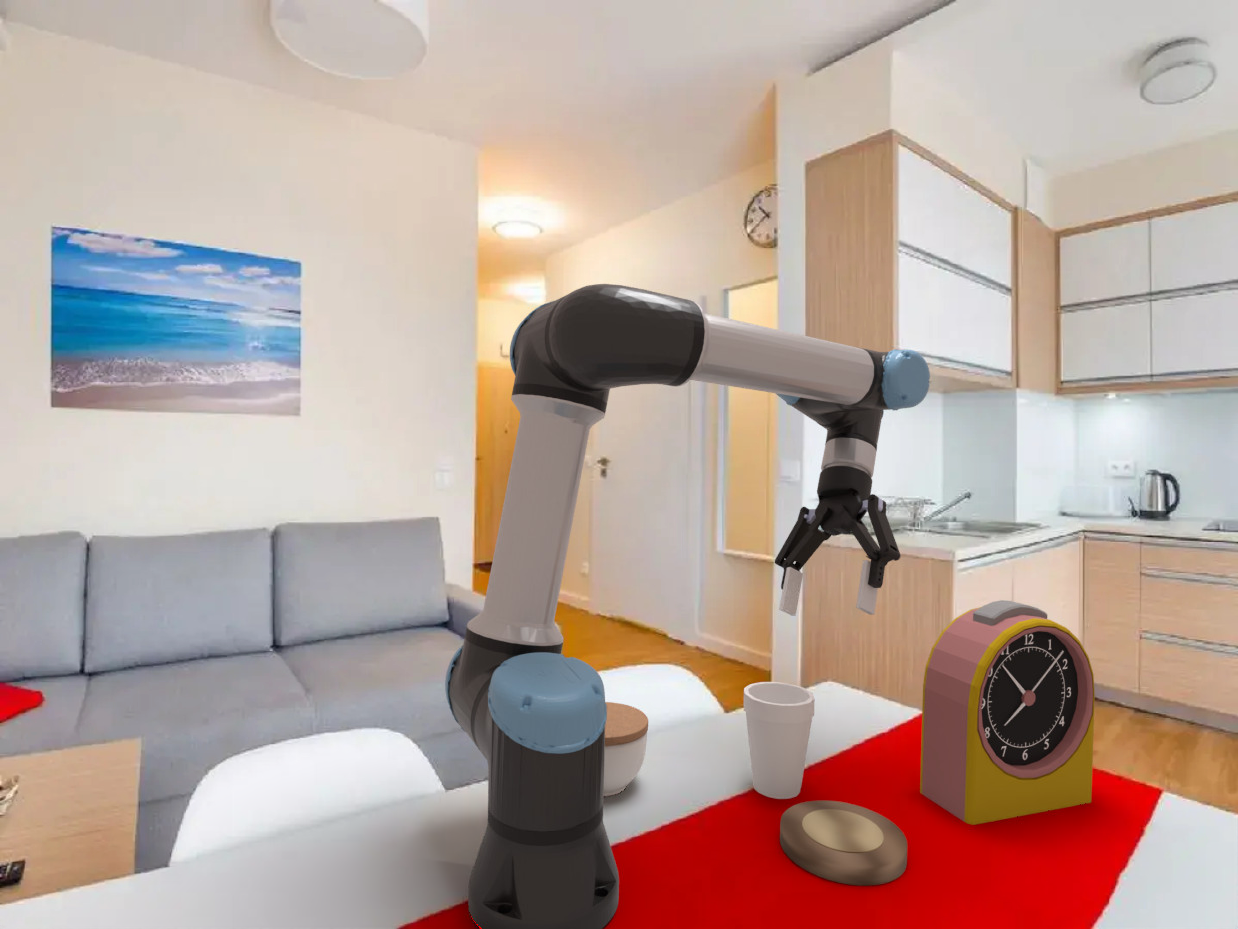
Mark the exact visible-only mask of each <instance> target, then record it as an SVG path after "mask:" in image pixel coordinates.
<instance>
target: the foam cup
mask: <svg viewBox="0 0 1238 929" xmlns="http://www.w3.org/2000/svg"><path fill="white" fill-rule="evenodd" d="M815 701H816V700H815V696H814V693H813V692H812V691H810V690H808V689H807V688H805V687H803V686H800V685H799V686H798V685H796V684H792V683H787V682H779V681H760V682H755V683H751V684H748V685H747V686H745V687H744V688H743V711H744V712H745V717H746V727H747V729H746V730H747V736H748V737H747V738H748V748H749V757H750V764H751V766H750V767H751V776H752V783H753V790H755V791H756V792H757V793H759V794H761V795H763V796H765V797H766V798H772V799H777V800H787V799H792V798H795V797H798V795H799V794H800V793H801V788H802V785H803V784H802V783H803V778H804V771H805V764H806V759H807V752H808V746H809V739H810V734H811V728H812V722H813V717H815Z"/></svg>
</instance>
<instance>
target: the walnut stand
mask: <svg viewBox="0 0 1238 929" xmlns="http://www.w3.org/2000/svg"><path fill="white" fill-rule="evenodd" d="M779 823H780V824H779V826H780V827H779V842H780V843H779V844H780V846H781V848H782V851H783V852H784V853H785V854H786V856H787V857H788V858H789V859H790V860H791V862H793V863H795V864H796V865H797V866H799V868H802V869H803V870H805V871H807V872H809V873H811V874H812V875H815V876H817V877H820V878H822V879H825V880H829V881H830V882H831V881H832V882H835V883H840V884H845V885H852V886H878V885H882V884H887V883H889V882H890V883H891V882H892V881H895V880H896V879H898V878H900V877H901V876H902V875H903V874H904V872H905V871H906V868H907V863H908V840H907V837H906V836H905V834H904V832H903V831H902V830H901V828H899V826H897V825H896V824H895V823H894V822H893V821H891V820H890V819H889V818H887V817H885V816H883V815H882V814H880V813H878V812H875V811H873V810H870V809H869V808H867V807H864V806H860V805H857V804H851V803H848V802H843V801H837V800H811V801H805V802H804V801H803V802H800V803H797V804H794V805H791V807H788V808H787V809H786V810H785V811H783V813H782V815H781V818H780V822H779Z"/></svg>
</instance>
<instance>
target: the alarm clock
mask: <svg viewBox="0 0 1238 929" xmlns="http://www.w3.org/2000/svg"><path fill="white" fill-rule="evenodd" d="M1094 675H1095V674H1094V672H1093V668H1092V664H1091V661H1090V658H1089V655H1088V653H1087V651H1086V649H1085V648H1084V646H1083V644H1082V643H1081V641H1080V639H1079V638H1078V637H1077V636H1076V635H1075V634H1074V633H1073V632H1072V631H1070V629H1069V628H1067V627H1066V626H1063V625H1062V624H1060V623H1058V622H1055V621H1053V620H1051V619H1050V618H1049V619H1048V613H1047V612H1045V611H1044V610H1042V609H1041V608H1038V607H1035V606H1031V605H1028V604H1024V603H1021V602H1017V601H1012V600H1001V599H999V600H997V601H996V600H995V601H991V602H989V603H987V604H984V605H982V606H980V607H975V608H971V609H969V610H967V611H965V612H964V613H962V614H960V615H958V616H957V617H955V618H954V619H953V620H952V621H951V622H950V623H949V624H948V625H947V626H946V627H945V628H944V629H942V631H941V633H940V634H939V636H938V637H937V640H936V641H935V642H934V644H933V646H932V647H931V650H930V653H929V655H928V659H927V661H926V664H925V669H924V675H923V676H924V677H923V683H922V708H921V711H922V712H921V740H920V742H921V744H920V745H921V746H920V748H921V749H920V750H921V751H920V783H919V785H920V786H919V789H920V790H919V792H920V794H921V795H923V796H924V797H926V798H927V799H929V800H930V801H932V802H933V803H935V804H937V805H938V806H939V807H940V808H943V809H944V810H946V811H947V812H949V813H950V814H952V815H953V816H955V817H956V818H958V819H959V820H961V821H963V823H966V824H969V825H975V826H976V825H980V824H985V823H990V822H995V821H1000V820H1006V819H1012V818H1017V816H1018V817H1022V816H1028V815H1032V814H1039V813H1043V812H1049V811H1053V810H1054V811H1055V810H1059V809H1064V808H1065V809H1066V808H1070V807H1075V806H1076V807H1077V806H1079V805H1080V804H1081V805H1084V804H1085V803H1086V804H1091V803H1092V793H1093V792H1092V791H1093V790H1092V789H1093V788H1092V787H1093V762H1094V761H1093V760H1094V759H1093V758H1094V757H1093V756H1094V755H1093V754H1094V751H1093V750H1094V731H1095V727H1094V725H1095V701H1096V699H1095V696H1096V695H1095V677H1094ZM1048 810H1049V811H1048Z"/></svg>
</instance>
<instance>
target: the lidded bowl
mask: <svg viewBox="0 0 1238 929" xmlns="http://www.w3.org/2000/svg"><path fill="white" fill-rule="evenodd" d="M605 703H606V706H607V719H606V725H605V755H604V793H603V798H604V796H605V797H611V796H616V795H618V793H619V794H621V793H622V792H624V791H625V790H626V789H627V787H628V785H629V784H630V783H632V781H633V780H634V779H635V778H636V777H637V776H638V773H640V771H641V768H642V766H643V764H644V760H645V756H646V749H647V745H648V744H647V742H648V730H649V718H648V716H647V715H646V713H644V712H643V711H642V710H640V709H638V708H637V707H635V706H631V705H628V704H624V703H618V702H612V701H611V702H610V701H605ZM626 786H627V787H626ZM625 788H626V789H625ZM624 789H625V790H624ZM621 791H622V792H621ZM620 792H621V793H620ZM615 794H616V795H615Z"/></svg>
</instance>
